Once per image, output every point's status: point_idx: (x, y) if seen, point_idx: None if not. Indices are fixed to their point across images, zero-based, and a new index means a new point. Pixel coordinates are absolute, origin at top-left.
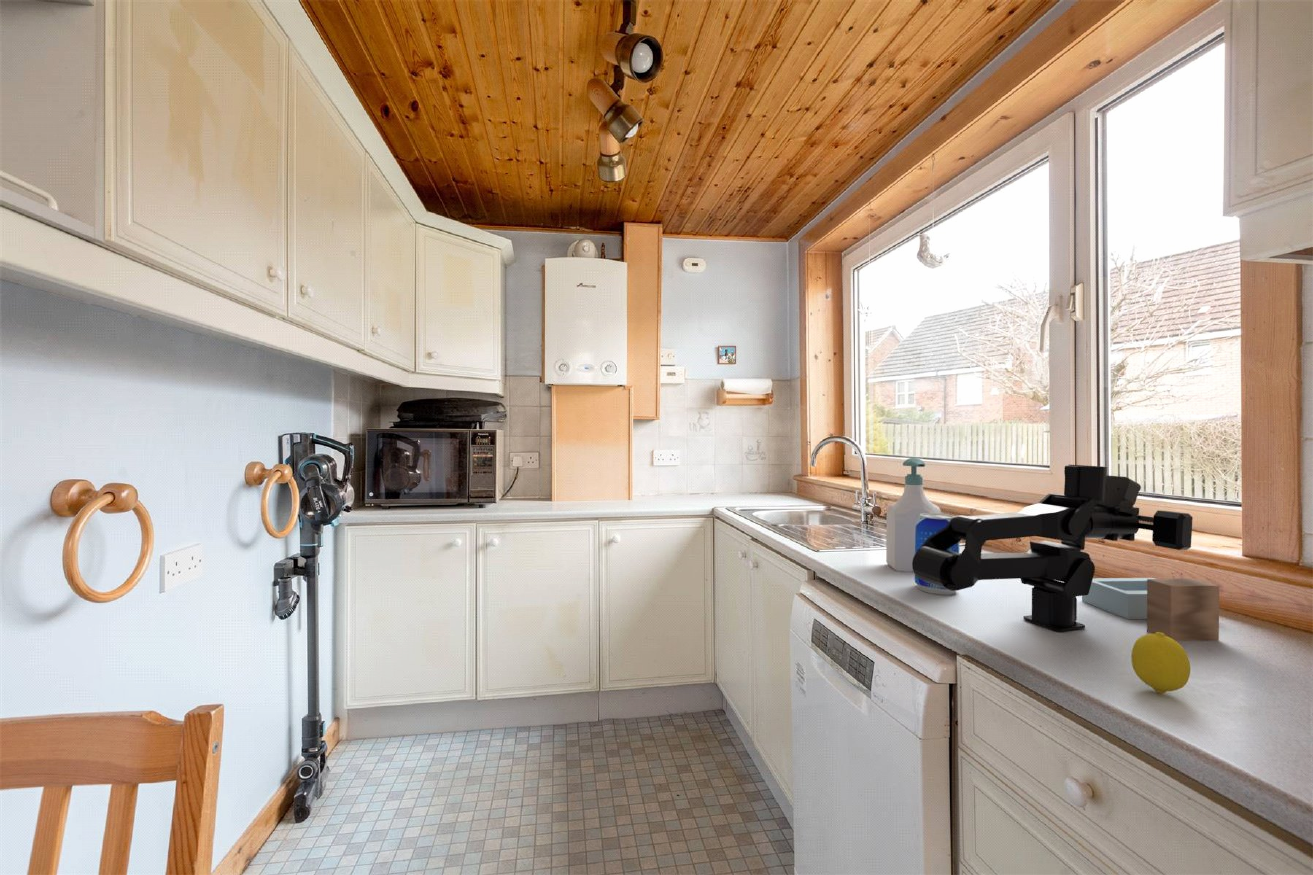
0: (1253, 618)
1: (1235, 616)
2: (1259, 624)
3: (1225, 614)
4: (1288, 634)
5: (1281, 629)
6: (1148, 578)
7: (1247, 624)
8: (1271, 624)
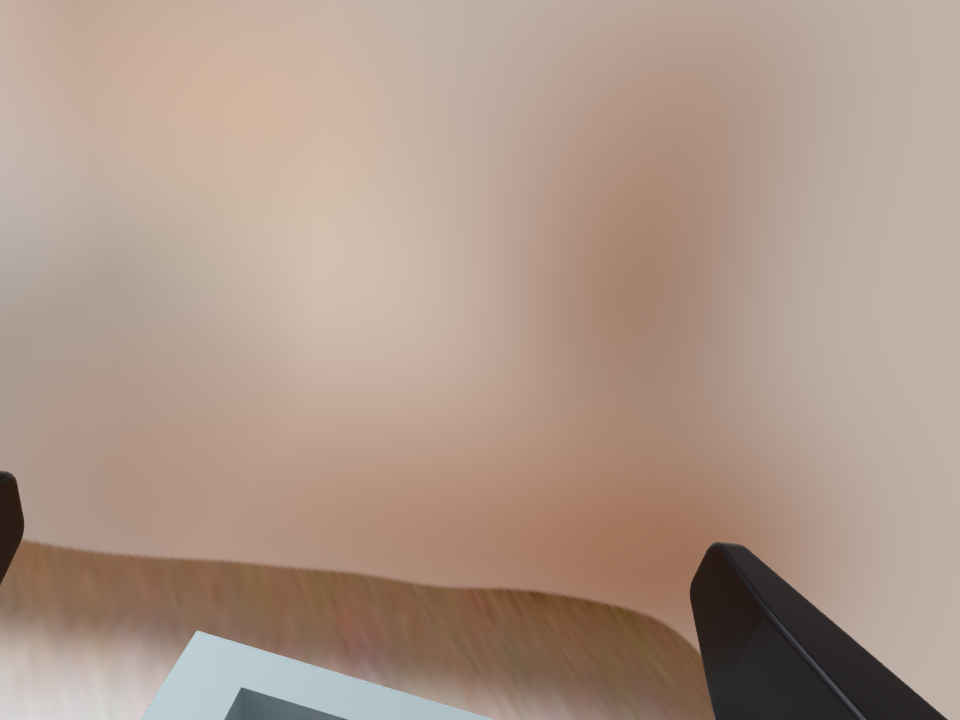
0: (533, 597)
1: (501, 631)
2: (595, 664)
3: (472, 638)
4: (706, 705)
5: (651, 657)
6: (186, 675)
7: (591, 713)
8: (598, 621)
